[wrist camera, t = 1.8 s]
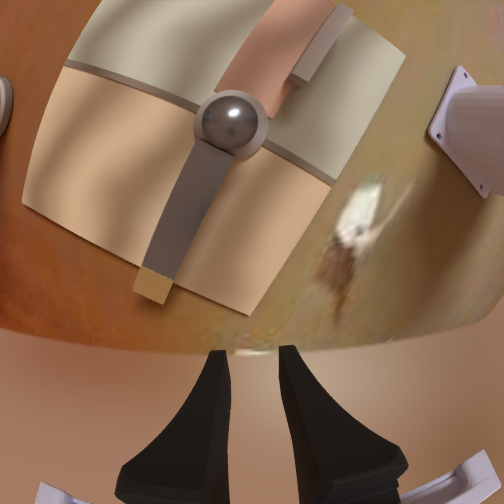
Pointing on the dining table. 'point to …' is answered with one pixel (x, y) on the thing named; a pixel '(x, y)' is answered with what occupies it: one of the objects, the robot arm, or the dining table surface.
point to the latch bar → (194, 192)
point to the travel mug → (5, 103)
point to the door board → (190, 129)
